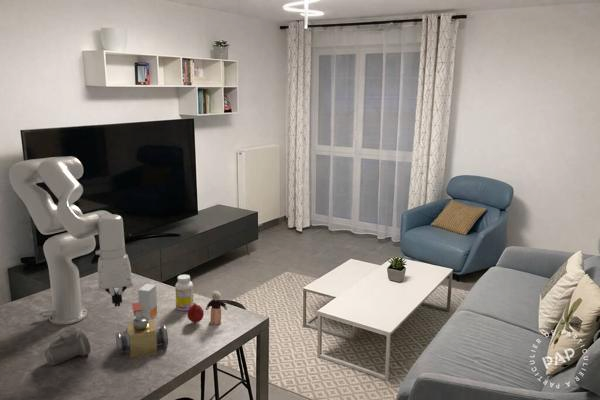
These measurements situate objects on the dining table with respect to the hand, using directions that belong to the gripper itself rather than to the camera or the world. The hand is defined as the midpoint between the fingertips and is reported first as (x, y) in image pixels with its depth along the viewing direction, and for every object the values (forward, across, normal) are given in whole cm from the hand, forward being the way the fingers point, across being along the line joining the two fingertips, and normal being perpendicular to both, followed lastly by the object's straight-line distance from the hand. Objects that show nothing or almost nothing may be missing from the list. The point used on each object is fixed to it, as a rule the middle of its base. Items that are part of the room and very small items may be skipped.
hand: (117, 304), depth 160 cm
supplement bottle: (+13, +23, +18) cm, 32 cm away
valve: (+13, +7, -9) cm, 17 cm away
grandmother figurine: (+13, +33, +2) cm, 36 cm away
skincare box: (+12, +9, +14) cm, 21 cm away
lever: (+4, +7, -4) cm, 9 cm away
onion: (+13, +26, +4) cm, 29 cm away
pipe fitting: (+13, -15, -9) cm, 21 cm away
